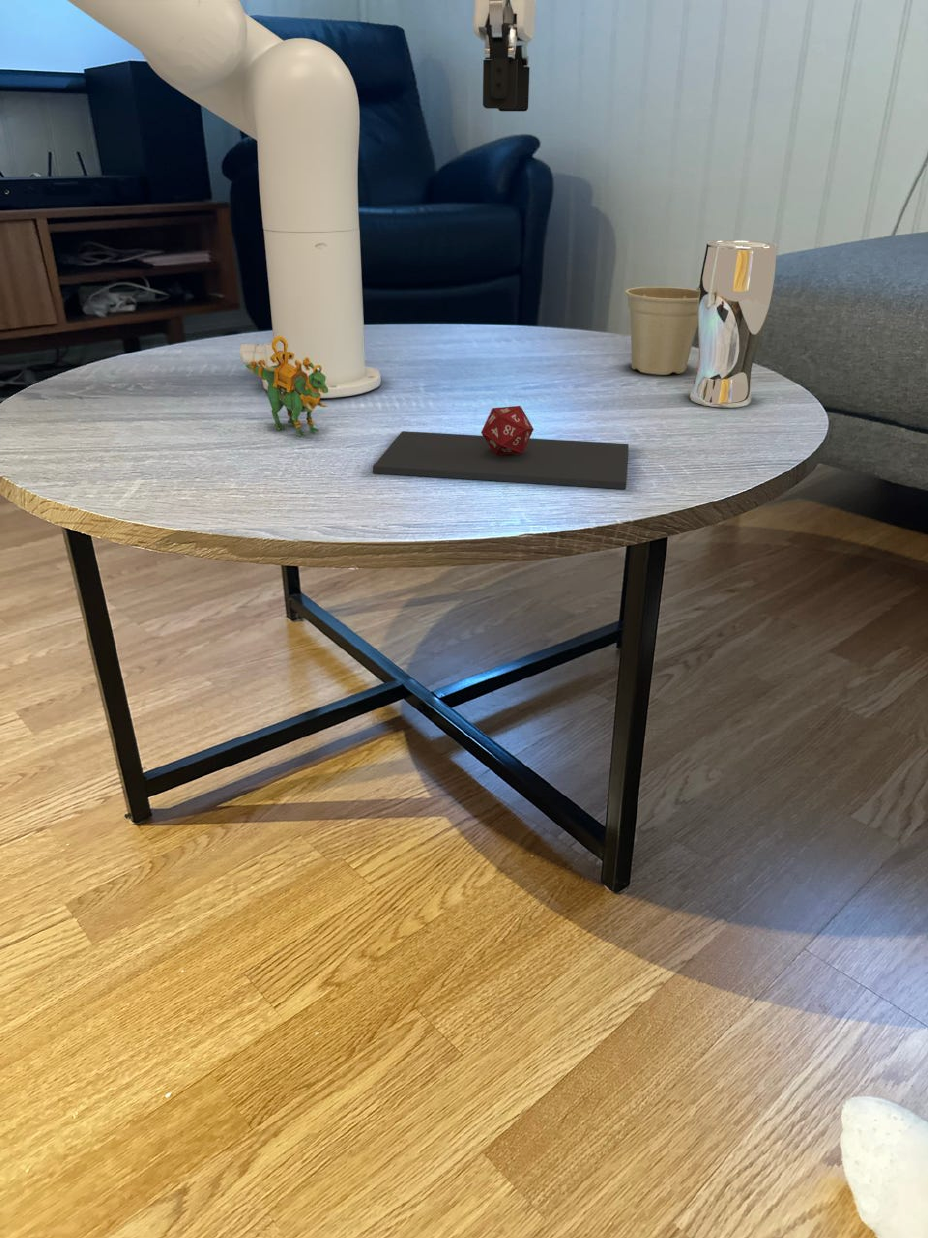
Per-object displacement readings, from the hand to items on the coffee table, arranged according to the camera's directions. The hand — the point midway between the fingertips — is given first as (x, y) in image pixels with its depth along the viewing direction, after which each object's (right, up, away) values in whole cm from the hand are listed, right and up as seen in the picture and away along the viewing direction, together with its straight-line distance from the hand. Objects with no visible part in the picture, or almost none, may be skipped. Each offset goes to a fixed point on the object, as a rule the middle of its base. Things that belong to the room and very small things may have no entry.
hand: (506, 109), depth 91 cm
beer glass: (+22, -29, +2) cm, 37 cm away
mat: (-1, -38, -16) cm, 42 cm away
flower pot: (+19, -23, +14) cm, 32 cm away
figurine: (-20, -34, -8) cm, 40 cm away
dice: (-1, -38, -16) cm, 41 cm away
